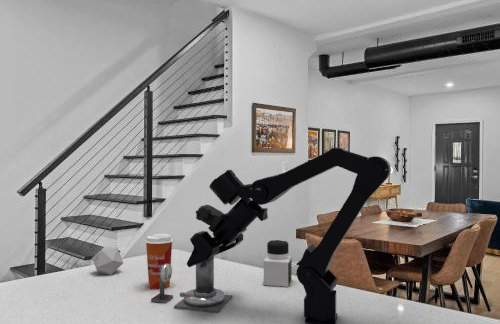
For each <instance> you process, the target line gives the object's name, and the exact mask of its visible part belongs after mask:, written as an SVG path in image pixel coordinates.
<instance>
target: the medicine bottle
mask: <svg viewBox="0 0 500 324" xmlns="http://www.w3.org/2000/svg"><path fill="white" fill-rule="evenodd" d="M266 248H267V249H266V251H267V252H266V254H267V256H266V257H265V258H264V259H263V285H264V286H265V285H266V286H267V287H268V286H269V287H270V286H271V287H280V286H282V287H283V288H288V287H290V284H291V281H292V278H293V277H292V273H293V271H292V270H293V268H292V259H293V258H292V257H293V256H291V255H289V242H288V241H287V240H283V239H273V240H269V241H268V242H267V245H266ZM282 287H281V288H282Z"/></svg>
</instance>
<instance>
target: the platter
mask: <svg viewBox="0 0 500 324" xmlns="http://www.w3.org/2000/svg"><path fill="white" fill-rule="evenodd" d="M194 289H195V288H194ZM194 289H189V290H188V291H186V292H183V291H181V292H179V297H181V298H183V299H184V302H185V303H186V304H189V305H192V306H212V305H217V304H220V303H222V302H223V301H224V300H225V295H226V293H225V291H223V290H221V289H217V288H215V289H216V296H214V297H211V298H197V297H195V296H194V293H193V291H194Z"/></svg>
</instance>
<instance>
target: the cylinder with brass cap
mask: <svg viewBox="0 0 500 324" xmlns="http://www.w3.org/2000/svg"><path fill="white" fill-rule="evenodd" d="M214 261H215V256H213V258H211V259H209V260H206V261H204V262H201V263H199V264H196V265H195V288H194V291H193V293H194V296H195V297H197V298H211V297H214V296H216V289H217V288H215V271H214V270H215V269H214V268H215V267H214V266H215V262H214Z"/></svg>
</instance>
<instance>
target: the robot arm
mask: <svg viewBox="0 0 500 324" xmlns="http://www.w3.org/2000/svg"><path fill="white" fill-rule="evenodd" d="M336 167H339V168H342V169H345V170H346V171H348V172H351V173H354V174H356V177H355V180H354V183H353V186H352V188H351V191H350V194H349V195H348V197H347V198H346V200H345V201H344V203H343V205H342V206H341V208H340V210H339V211H338V213H337V215H336V216H335V218H334V220H333V221H332V222H331V224H330V225H329V227H328V229H327V231H326V232H325V234H324V236H323V237H322V239H321V240H320V241H319V243H318V245H317V246H315V245H314V244H313V243H312V244H310V245H309V246H308V247H307V248H305V250H304V252H303V255H302V257H301V259H300V260H299V261H298V262H296V264H295V265H296V266H298V267H297V269H296V274H295V275H296V277H297V279H298V282H299V283H300V285H302V286H303V290H304V291H305V294H306V295H304V298H303V317H304V318H305V320H304V323H306V324H337V320H338V319H337V318H338V313H337V290H335V288H336V286H337V284H338V281H339V279H338V277H337V276H336V275H335V274H334V273H333V272H332V271H331V270H330V267H331V265H332V263H333V260H334V257H335V253H336V251H337V249H338V247H339V246H340V244H341V243H342V241H343V240H344V238H345V237H346V235H347V233H348V232H349V230H350V229H351V226H352V225H353V224H354V222H355V220H356V219H357V217H358V216H359V214H360V212H361V211H362V209H363V208H364V206H365V205H366V204H367V202H368V199H370V198H371V197H372V195H373V194H374V193H375V192H377V191H378V189H379V188H380V187H381V186H382V185H383V184H384V183H385V181H386V180H388V178H389V177H390V175H391V171H392V168H391V164H390V163H389V161H388V160H387V159H386V158H384V157H381V156H376V155H375V156H369V157H367V156H365V155H361V154H358V153H355V152H352V151H348V150H346V149H345V148H342V147H330V149H329V150H328V151H326V152H323V153H322V154H320V155H317V156H315V157H313V158H311V159H310V160H308V161H305V162H303V163H302V164H299V165H297V166H295V167H293V168H290V169H289V170H287V171H285V172H282V173H279V174H278V173H277V174H274V175H271V176H267V177H264V178H261V179H256V180H254V181H253V182H252V183H249V184H244V183H243V182H242V181H241V180H240V179H239V177H238V176H237V175H236V174H235V172H234V170H232V169H226V171H224V173H221V174H220V175H219V176H217V177H216V178H214V179H213V180H212V181H211V183H210V184H209V189H210V190H211V191H212V192H213V193H214V195H215V196H216V197H217V198H218V199H219V200H220V201H221V202H222V203H223V205H225V206H226V205H228V204H229V205H230V206H232V207H231V208H230V209H229V211H227V213H224V212H222V211H221V210H219V209H217V208H216V207H214V206H212V205H210V204H204V205H201V206H199V208H198V209H197V210H196V211H195V214H196V215H195V216H196V217H195V219H196V220H198V221H201V222H202V223H205V224H206V225H208V228H207V229H208V230H209V231H210V232H212V235H211V234H210V233H209V231H207V230H206V231H205V230H201V231H198V232H196V233H194V234H193V235H192V236H191V237H190V238H189V240H190V242H191V245H192V246H193V249H192V252H191V253H190V256H189V258H188V260H187V262H186V266H187V267H188V268H192V267H194V266H196V264H199V263H201V262H204V261H206V260H209V259H211V258H213V256H214V257H215V256H217V255H220V254H222V253H223V252H226V251H228V250H230V249H231V250H232V249H233V248H235V247H236V246H239V245H240V244H241V243H242V242H243V241H244V233H245V232H246V231H247V230H248V227H249V226H250V225H251V224H252V223H253V222H254V221H255V219H257V218H258V220H259V221H260V222H262V221H266V220H267V219H269V218H268V217H269V216H268V208H267V207H262V206H264V205H266V204H269V203H273V202H275V201H277V200H278V199H280V198H281V197H282V196H284V195H285V194H286V193H288V192H289V191H290V190H291V189H293V188H294V187H295V186H298V185H300V184H302V183H304V182H306V181H309V180H312V179H313V178H315V177H317V176H319V175H322V174H324V173H326V172H328V171H329V170H332V169H334V168H336ZM261 205H262V206H261ZM212 236H213V237H212Z"/></svg>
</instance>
